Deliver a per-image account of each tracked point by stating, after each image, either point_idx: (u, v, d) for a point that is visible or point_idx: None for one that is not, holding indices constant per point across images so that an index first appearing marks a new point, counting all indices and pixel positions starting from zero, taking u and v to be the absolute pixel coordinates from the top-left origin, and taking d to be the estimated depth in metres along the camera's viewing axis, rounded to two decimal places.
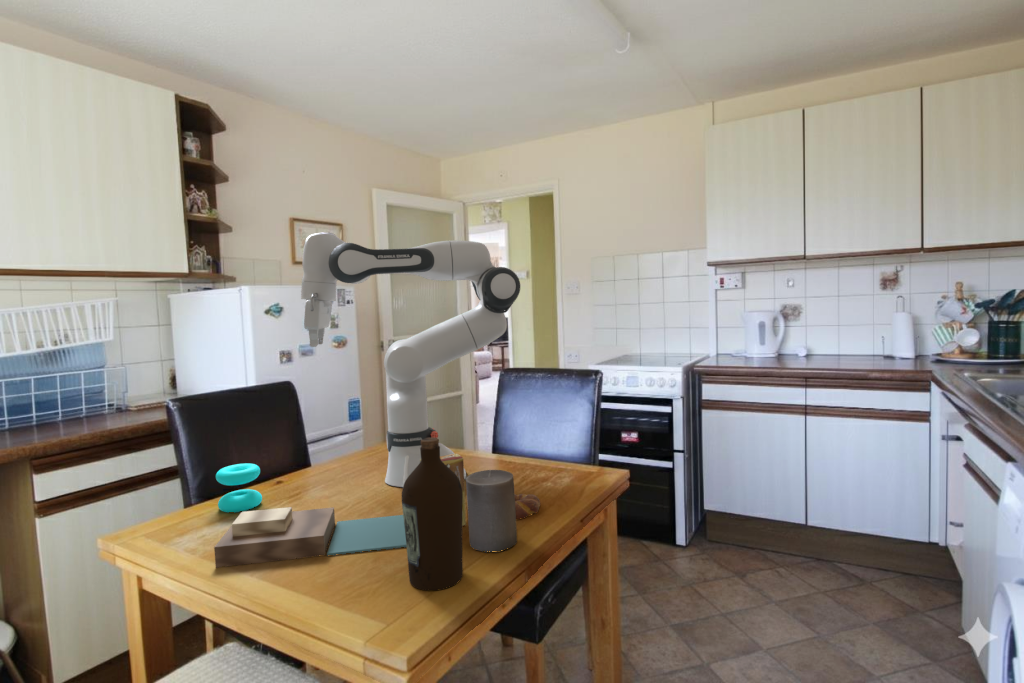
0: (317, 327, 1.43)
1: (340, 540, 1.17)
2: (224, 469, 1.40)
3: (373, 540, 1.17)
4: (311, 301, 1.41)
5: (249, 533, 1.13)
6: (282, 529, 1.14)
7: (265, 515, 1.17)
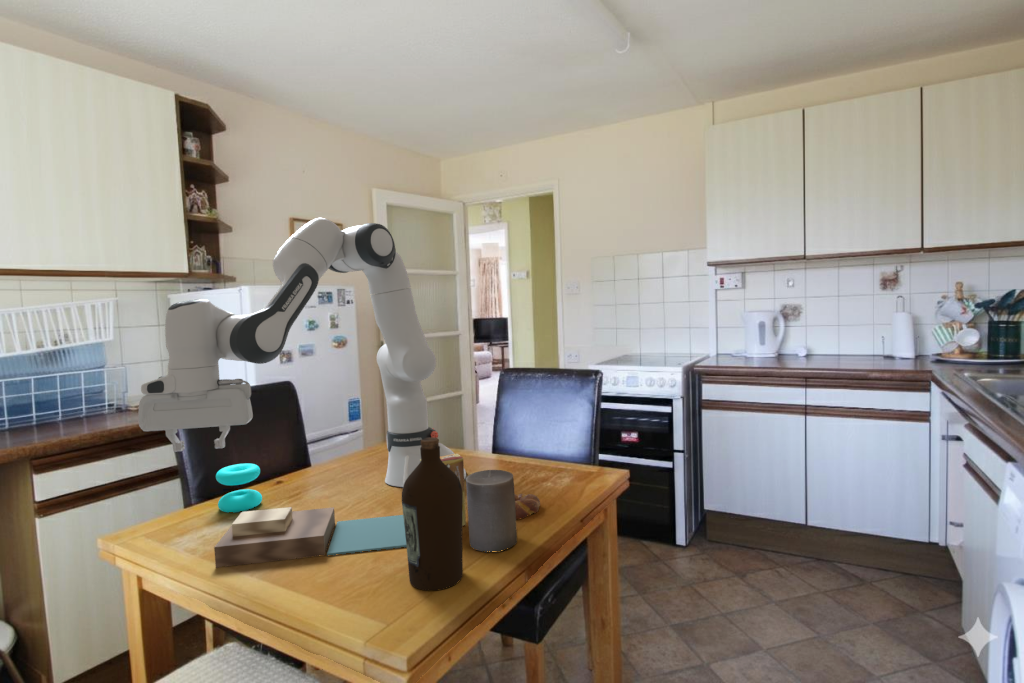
0: None
1: (340, 540, 1.17)
2: (224, 469, 1.40)
3: (373, 540, 1.17)
4: (250, 388, 1.15)
5: (249, 533, 1.13)
6: (282, 529, 1.14)
7: (265, 515, 1.17)
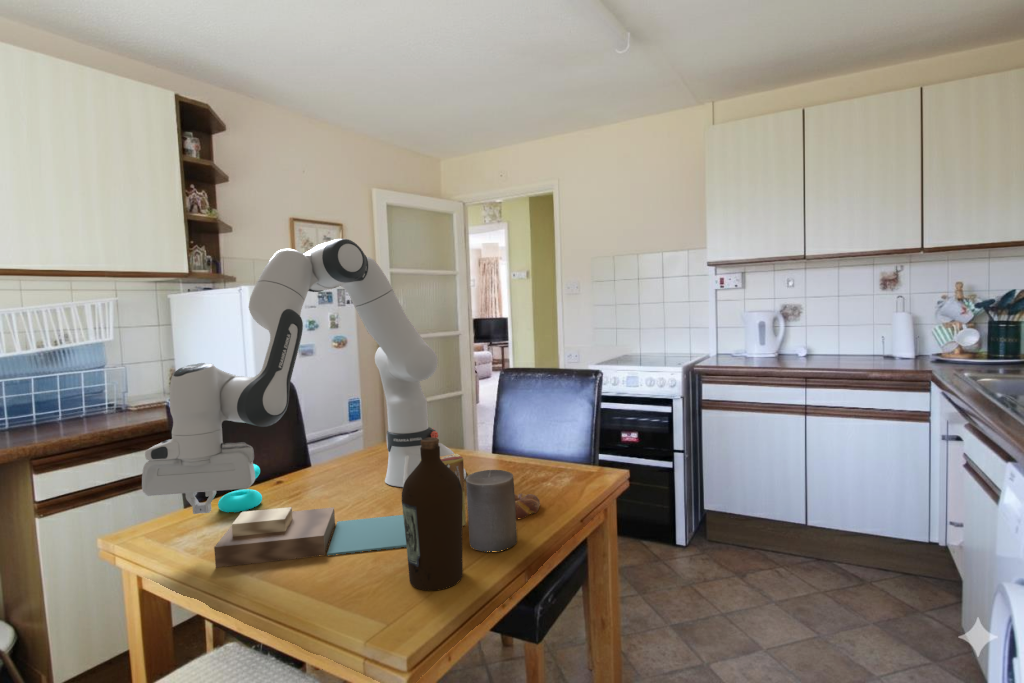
0: None
1: (340, 540, 1.17)
2: None
3: (373, 540, 1.17)
4: (253, 452, 1.16)
5: (249, 533, 1.13)
6: (282, 529, 1.14)
7: (265, 515, 1.17)
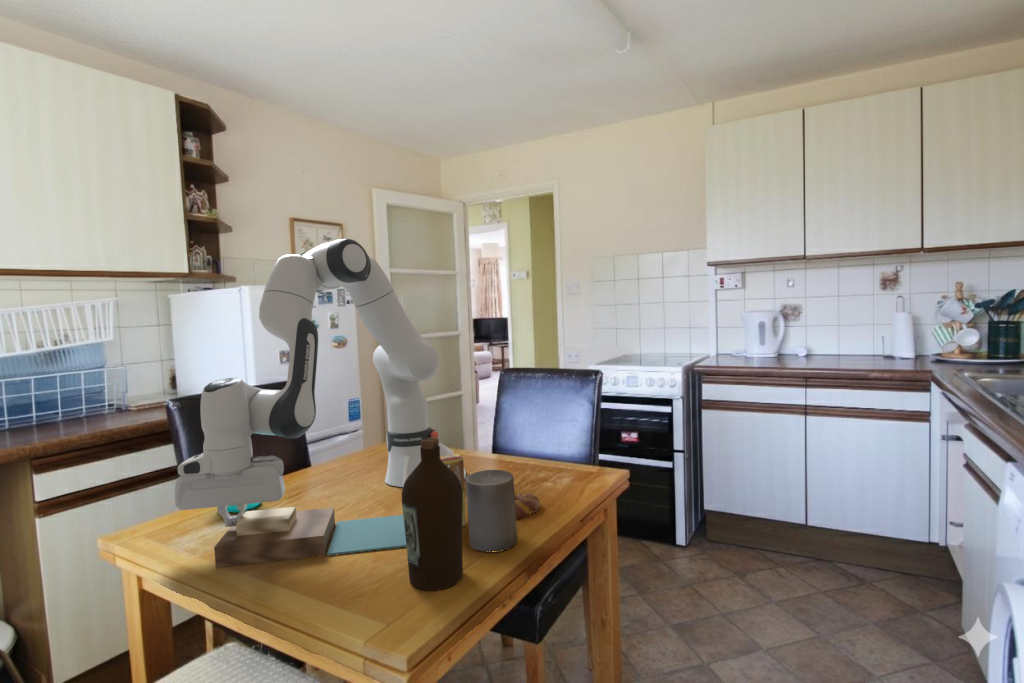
0: None
1: (340, 540, 1.17)
2: None
3: (373, 540, 1.17)
4: (283, 464, 1.17)
5: (253, 533, 1.13)
6: (286, 529, 1.14)
7: (269, 515, 1.17)
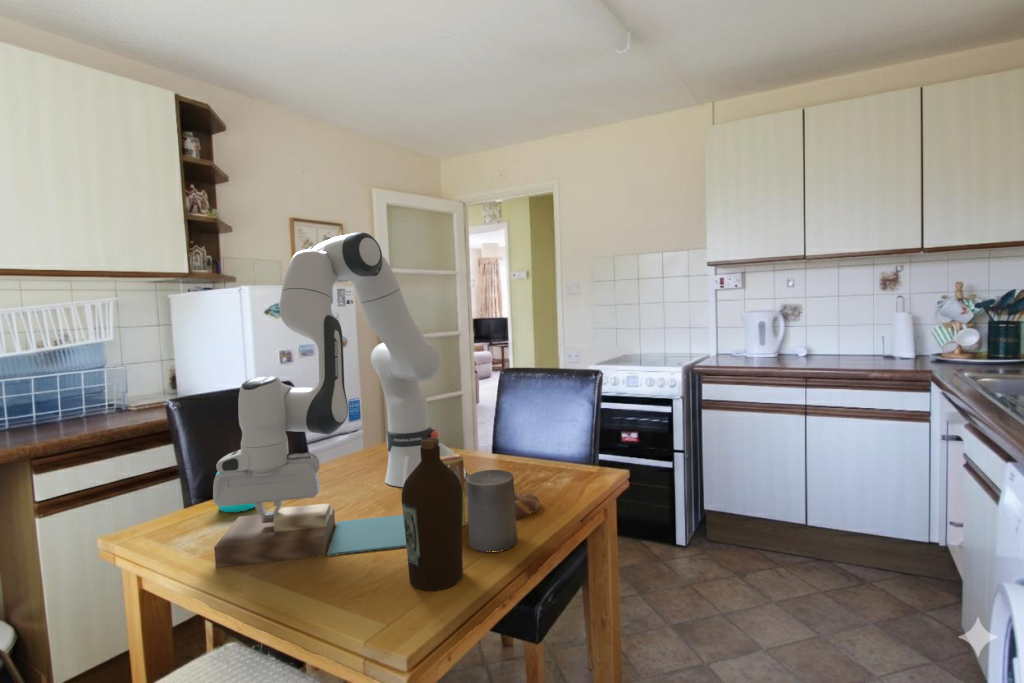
0: None
1: (340, 540, 1.17)
2: None
3: (373, 540, 1.17)
4: (318, 462, 1.18)
5: (290, 529, 1.15)
6: (322, 525, 1.16)
7: (305, 511, 1.18)
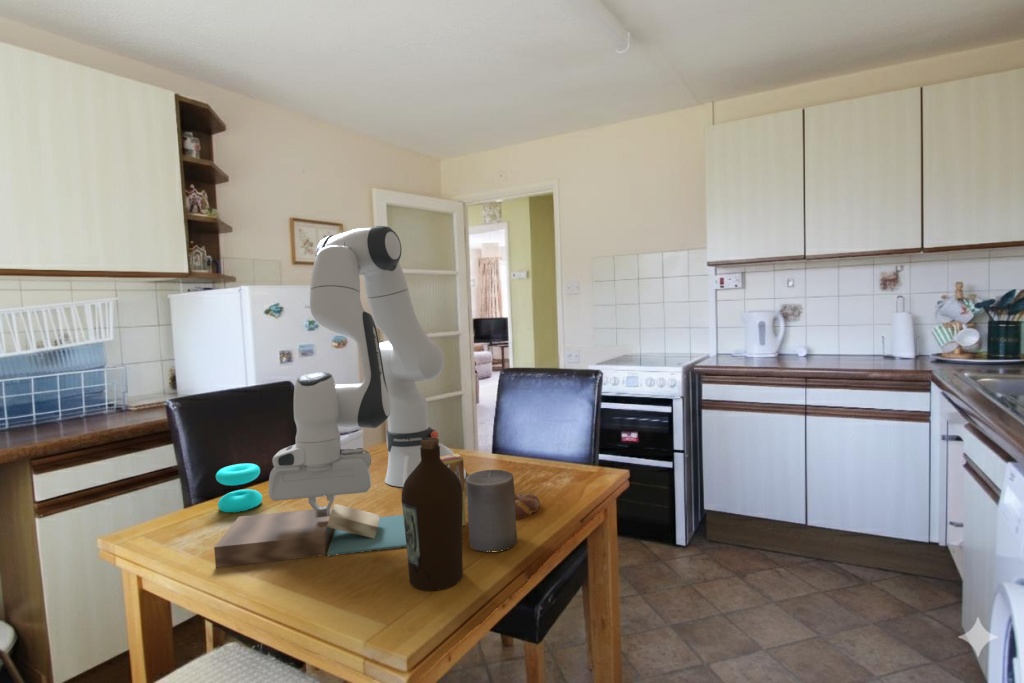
0: None
1: (340, 540, 1.17)
2: (224, 469, 1.40)
3: (373, 540, 1.17)
4: (370, 457, 1.20)
5: (342, 529, 1.16)
6: (372, 536, 1.18)
7: (358, 516, 1.20)
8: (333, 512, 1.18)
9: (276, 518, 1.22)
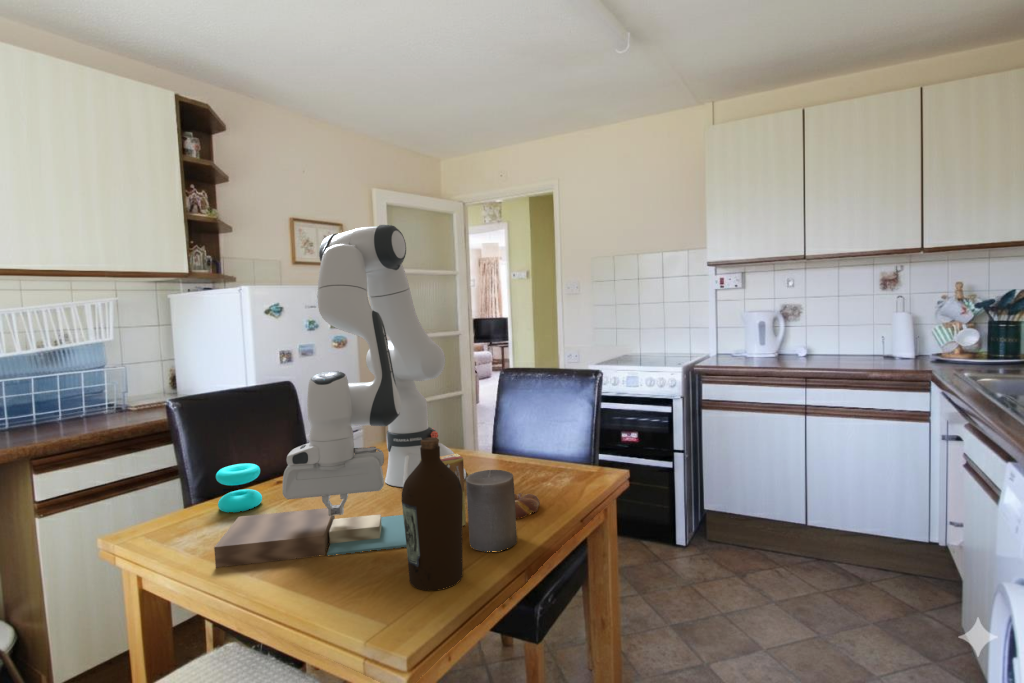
0: None
1: None
2: (224, 469, 1.40)
3: (373, 540, 1.17)
4: (383, 456, 1.20)
5: (345, 540, 1.17)
6: (376, 536, 1.18)
7: (358, 522, 1.20)
8: (332, 527, 1.18)
9: (276, 518, 1.22)
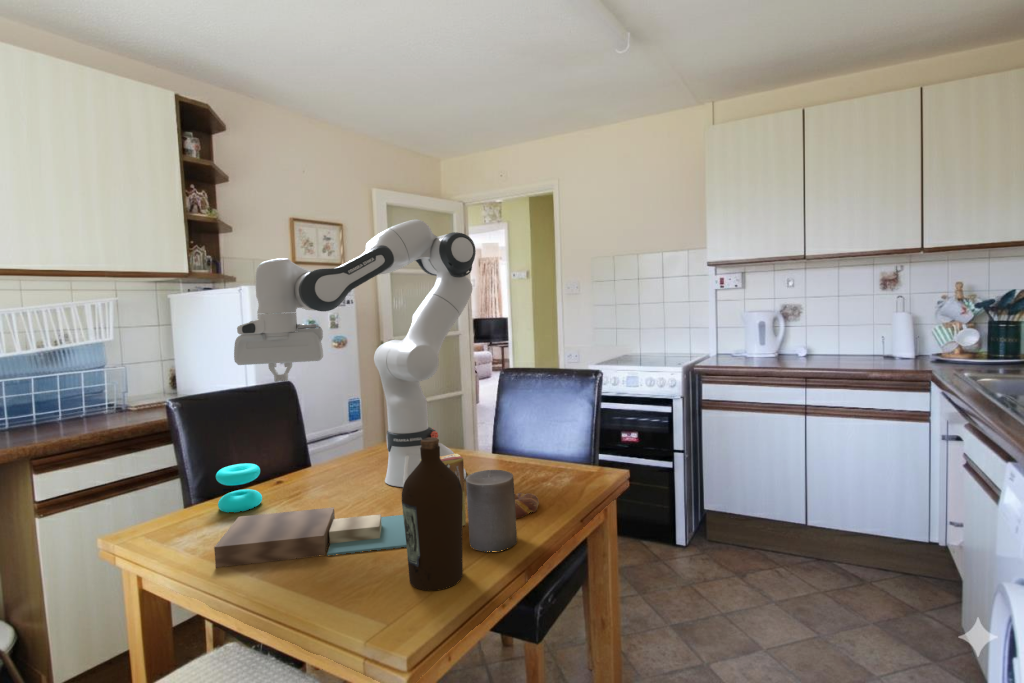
0: None
1: None
2: (224, 469, 1.40)
3: (373, 540, 1.17)
4: (322, 332, 1.41)
5: (345, 540, 1.17)
6: (376, 536, 1.18)
7: (358, 522, 1.20)
8: (332, 527, 1.18)
9: (276, 518, 1.22)
